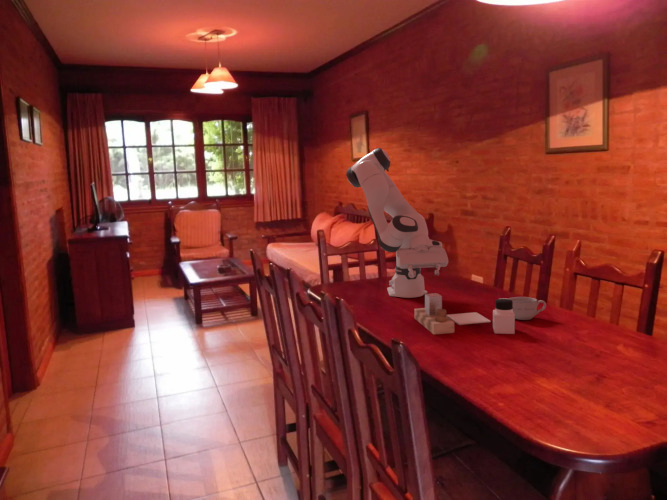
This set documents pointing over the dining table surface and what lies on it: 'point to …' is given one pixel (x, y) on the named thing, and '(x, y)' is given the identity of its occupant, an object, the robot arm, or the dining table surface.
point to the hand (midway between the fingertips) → (425, 275)
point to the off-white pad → (468, 318)
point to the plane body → (435, 321)
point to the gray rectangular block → (432, 304)
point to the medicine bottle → (504, 317)
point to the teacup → (526, 307)
